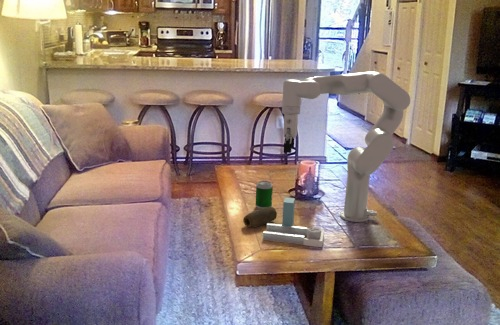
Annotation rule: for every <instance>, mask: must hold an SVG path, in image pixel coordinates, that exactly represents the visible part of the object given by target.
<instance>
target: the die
mask: <svg viewBox="0 0 500 325" xmlns="http://www.w3.org/2000/svg"><path fill="white" fill-rule="evenodd" d="M308 228H309V229H308V231H307V235H306V238H308V239H317V240H320V236H321V230H322V229H320V228H319V227H308Z"/></svg>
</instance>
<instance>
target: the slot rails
mask: <svg viewBox="0 0 500 325" xmlns="http://www.w3.org/2000/svg"><path fill="white" fill-rule="evenodd" d="M307 228H308V227H305V226H297V225H296V226H295V225H293V226H289V225H282V224H277V223H271V222H269V223H266V231H265V230H264V231H263V232H262V241H263V240H264V241H270V242H280V243H286V244H294V245H296V244H297V245H303V246H305V245H304V238H305V237H307V235H306V229H307Z"/></svg>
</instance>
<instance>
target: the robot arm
mask: <svg viewBox="0 0 500 325" xmlns="http://www.w3.org/2000/svg"><path fill="white" fill-rule="evenodd" d="M367 93H372V94H374V95H375V96H376V97H377V98H379V100H381V101H382V103H383V111H382V114H381V115H380V117H379V118H378V119H377V121H376V122H375V123H374V124H373V126H372V127H371V128H370V130H368V132H367V133H366V134H365V137H364V141H365V144H366V147H362V146H357V147H356V146H355V147H353V148H352V149H351V150H350V151H349V153H348V154H347V160H346V162H347V164H346V167H347V175H346V176H347V177H346V185H345V186H346V187H345V196H344V197H345V198H344V208H343V210H342V211H341V212H340V214H339V216H340V217H341V219H343V220H344V221H348V222H352V223H365V222H367V221H369V220H370V216H371V217H378V216H377V214H378V211H375V210H371V209H370V210H369V209H368V197H369V187H370V186H369V185H370V175H372V174H374V173H375V172H376V171H377V170H378V169H379V167H380V166H381V165H382V164H383V163H384V162H385V160H386V159H387V158H388V157H389V155H390V154H391V153H392V151H393V150H394V147H395V146H394V145H395V140H394V138H393V134H395V132H396V131H397V129H398V128H399V127H400V124H401V123H402V121H403V117H404V111H405V110H406V109H408V107H409V106H410V104H411V96H410V94H409V92H407V91H406V90H405V89H403V87H401V86H400V85H398V84H397V82H395V81H394V80H392V79H391V78H389V77H388V76H387V75H386V74H384V73H383V72H379V71H376V70H375V71H374V70H371V71H364V72H363V71H362V72H353V73H345V74H335V75H323V76H322V75H321V76H314V77H308V78H307V77H306V78H304V79H303V80H299V79H293V78H292V79H290V78H289V79H285V80H284V81H283V83H282V102H281V103H282V105H281V114H283V115H284V117H283V118H284V119H283V138H284V141H283V153H286V154H287V153H288V154H291V153H292V148H294V147H295V138H296V137H297V135H298V120H299V118H298V116H299V115H300V114H301V103H302V102H301V100H302V99H308V100H314V99H317V98H319V97H320V96H321V95H323V94H324V95H325V94H326V95H328V94H334V95H339V96H350V95H356V94H367Z"/></svg>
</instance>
